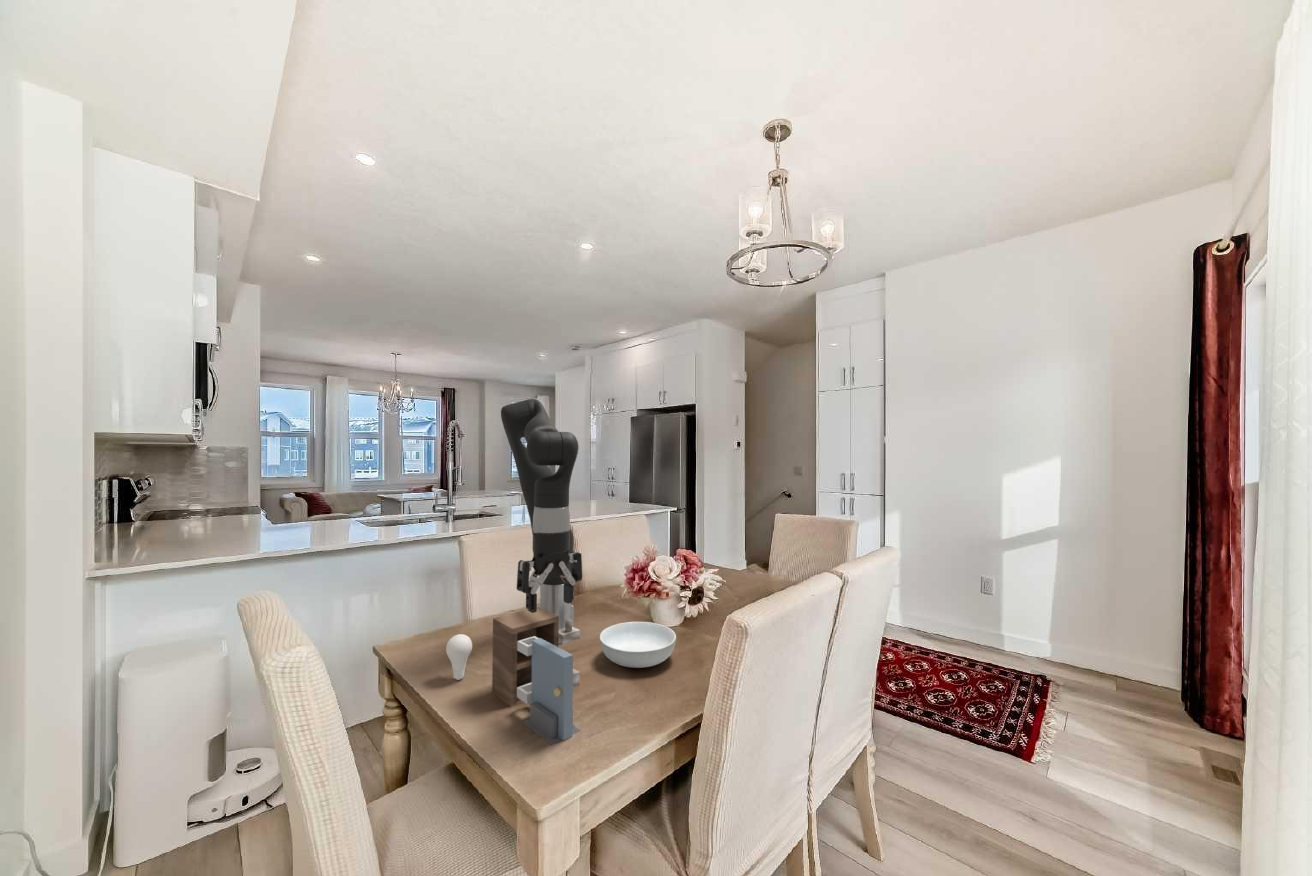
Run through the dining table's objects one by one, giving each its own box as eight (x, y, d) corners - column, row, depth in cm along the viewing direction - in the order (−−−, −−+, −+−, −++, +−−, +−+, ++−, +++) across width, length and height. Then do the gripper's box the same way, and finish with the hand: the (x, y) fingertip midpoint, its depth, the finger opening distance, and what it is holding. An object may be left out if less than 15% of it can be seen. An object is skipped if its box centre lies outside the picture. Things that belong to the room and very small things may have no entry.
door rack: (550, 714, 110) (550, 691, 110) (580, 735, 103) (581, 710, 103) (521, 726, 105) (521, 702, 106) (551, 749, 98) (551, 723, 98)
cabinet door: (533, 704, 113) (534, 631, 113) (576, 734, 101) (577, 653, 101) (516, 711, 110) (517, 636, 110) (558, 742, 98) (559, 659, 98)
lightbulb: (450, 674, 129) (450, 630, 129) (474, 673, 129) (475, 630, 130) (441, 685, 123) (442, 640, 123) (467, 685, 123) (468, 639, 123)
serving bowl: (583, 666, 134) (584, 640, 134) (625, 640, 153) (625, 617, 153) (653, 685, 124) (653, 656, 124) (688, 654, 143) (688, 629, 143)
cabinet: (553, 673, 130) (554, 602, 130) (579, 688, 122) (580, 613, 122) (492, 696, 118) (493, 618, 118) (515, 714, 110) (516, 631, 110)
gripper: (569, 522, 113) (568, 596, 112) (510, 529, 103) (509, 610, 102) (590, 526, 107) (589, 604, 107) (530, 534, 97) (529, 619, 97)
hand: (550, 607), depth 105 cm, fingers open, 8 cm apart
